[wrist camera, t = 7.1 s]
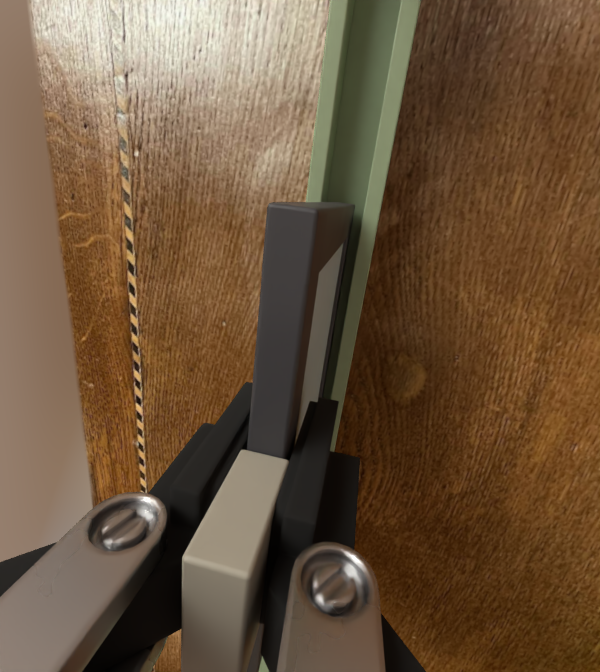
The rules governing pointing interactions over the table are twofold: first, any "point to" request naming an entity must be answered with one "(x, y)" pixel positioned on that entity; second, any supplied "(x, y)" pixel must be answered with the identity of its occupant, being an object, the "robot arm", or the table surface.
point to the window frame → (357, 147)
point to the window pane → (265, 434)
